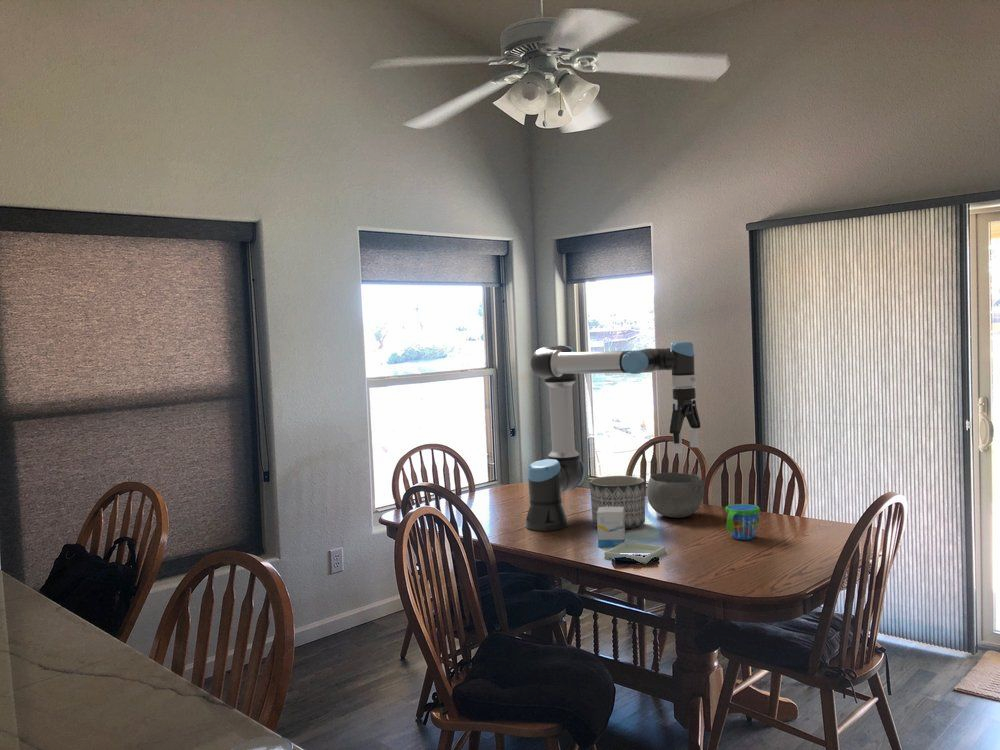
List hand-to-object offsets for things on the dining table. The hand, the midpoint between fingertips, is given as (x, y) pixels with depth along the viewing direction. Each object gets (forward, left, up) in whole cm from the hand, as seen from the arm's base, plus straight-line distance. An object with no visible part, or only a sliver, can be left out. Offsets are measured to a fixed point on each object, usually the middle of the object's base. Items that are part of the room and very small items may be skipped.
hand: (686, 450), depth 279 cm
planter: (-25, -3, -28) cm, 38 cm away
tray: (-3, -34, -28) cm, 44 cm away
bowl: (-13, +19, -28) cm, 36 cm away
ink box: (-16, -25, -28) cm, 41 cm away
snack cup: (+19, 0, -28) cm, 34 cm away
